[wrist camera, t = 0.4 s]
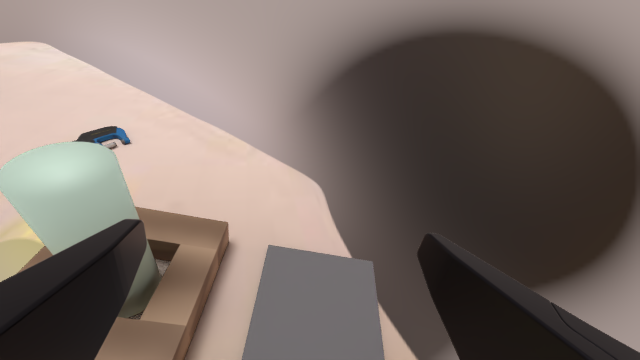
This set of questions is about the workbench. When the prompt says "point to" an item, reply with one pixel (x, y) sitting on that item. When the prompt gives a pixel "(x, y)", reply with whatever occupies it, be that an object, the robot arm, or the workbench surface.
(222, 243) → the socket block
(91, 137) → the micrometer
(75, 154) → the pin
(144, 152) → the workbench surface
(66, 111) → the workbench surface
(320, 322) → the mat
